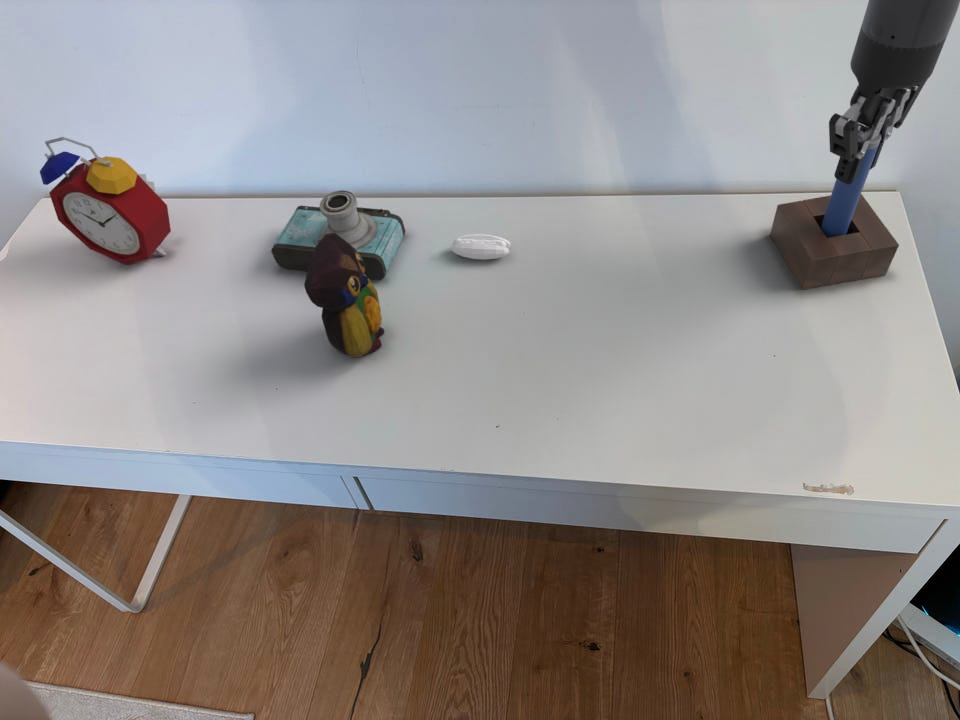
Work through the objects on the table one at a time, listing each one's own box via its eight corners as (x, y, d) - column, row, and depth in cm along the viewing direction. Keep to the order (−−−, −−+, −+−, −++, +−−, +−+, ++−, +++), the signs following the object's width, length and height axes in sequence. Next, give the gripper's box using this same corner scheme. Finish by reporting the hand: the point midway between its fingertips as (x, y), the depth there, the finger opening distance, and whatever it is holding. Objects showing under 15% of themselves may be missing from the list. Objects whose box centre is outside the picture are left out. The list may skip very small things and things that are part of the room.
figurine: (382, 372, 89) (351, 287, 77) (328, 373, 90) (289, 288, 78) (394, 312, 95) (367, 225, 83) (343, 314, 96) (309, 227, 84)
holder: (847, 220, 96) (858, 190, 92) (885, 275, 89) (899, 244, 85) (769, 234, 96) (777, 204, 92) (802, 290, 89) (811, 260, 85)
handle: (835, 234, 92) (873, 125, 80) (845, 250, 90) (886, 140, 78) (811, 238, 92) (846, 129, 80) (821, 254, 90) (858, 145, 78)
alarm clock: (85, 259, 109) (2, 146, 94) (119, 221, 114) (45, 108, 99) (166, 272, 105) (93, 157, 90) (198, 232, 110) (134, 116, 94)
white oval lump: (455, 245, 102) (453, 230, 99) (512, 248, 100) (510, 232, 98) (451, 261, 100) (448, 246, 97) (508, 264, 98) (506, 248, 96)
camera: (254, 216, 95) (286, 169, 101) (278, 268, 103) (306, 221, 109) (370, 227, 91) (396, 177, 97) (386, 280, 99) (409, 231, 104)
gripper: (896, 68, 65) (843, 217, 78) (986, 8, 69) (922, 159, 83) (823, 40, 69) (785, 186, 83) (913, -15, 73) (863, 132, 87)
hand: (854, 172), depth 83 cm, fingers closed on handle, 3 cm apart
